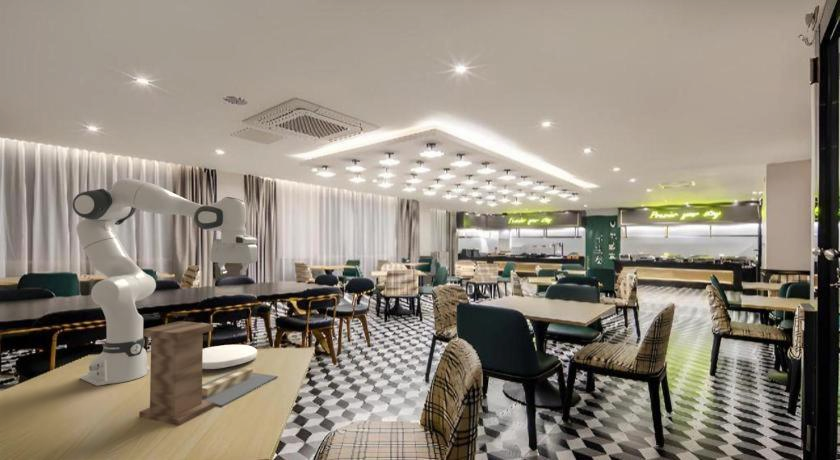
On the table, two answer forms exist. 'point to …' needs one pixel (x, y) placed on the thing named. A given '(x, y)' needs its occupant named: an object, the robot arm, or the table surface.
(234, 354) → the plate
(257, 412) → the table surface
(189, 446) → the table surface
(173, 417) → the stand
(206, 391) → the rod
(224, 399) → the mat
